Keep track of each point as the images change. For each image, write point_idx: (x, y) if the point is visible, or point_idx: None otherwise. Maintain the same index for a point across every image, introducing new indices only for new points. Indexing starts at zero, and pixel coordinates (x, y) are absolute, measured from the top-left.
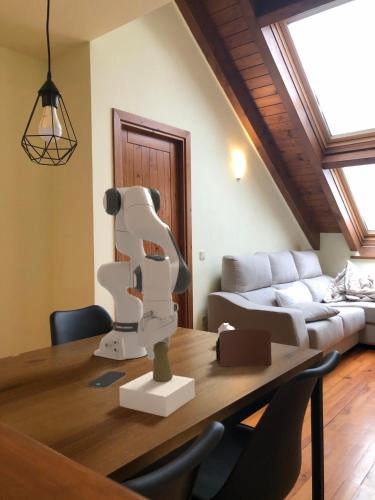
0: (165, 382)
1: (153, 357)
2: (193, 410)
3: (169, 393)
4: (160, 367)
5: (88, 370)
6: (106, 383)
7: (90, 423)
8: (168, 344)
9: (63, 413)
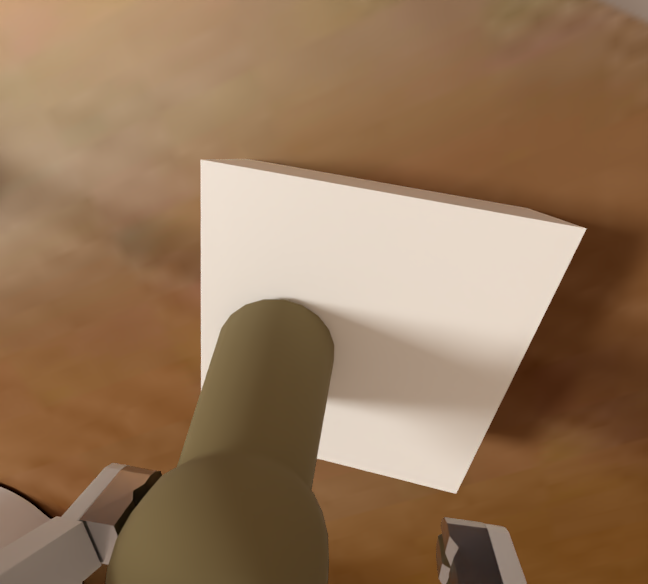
0: (328, 316)
1: (506, 550)
2: (419, 94)
3: (517, 227)
4: (319, 401)
5: None
6: None
7: (619, 461)
8: (65, 524)
9: (535, 547)
